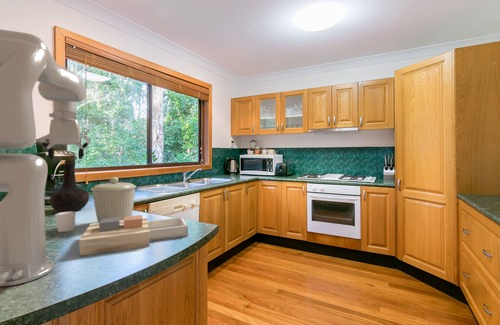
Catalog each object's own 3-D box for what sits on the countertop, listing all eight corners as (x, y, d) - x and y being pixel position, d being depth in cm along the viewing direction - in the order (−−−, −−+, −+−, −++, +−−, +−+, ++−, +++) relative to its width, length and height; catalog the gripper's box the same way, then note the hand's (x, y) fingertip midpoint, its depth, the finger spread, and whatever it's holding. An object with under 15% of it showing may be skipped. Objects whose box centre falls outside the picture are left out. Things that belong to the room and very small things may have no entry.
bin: (187, 236, 96) (187, 225, 96) (149, 241, 91) (149, 230, 90) (181, 226, 109) (181, 217, 109) (148, 230, 103) (148, 220, 103)
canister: (96, 220, 120) (95, 176, 119) (138, 216, 126) (137, 174, 125) (87, 231, 103) (85, 179, 102) (135, 226, 109) (134, 178, 108)
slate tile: (119, 229, 88) (119, 221, 88) (99, 231, 86) (99, 223, 86) (120, 225, 94) (120, 217, 94) (101, 227, 91) (101, 218, 91)
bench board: (149, 246, 86) (149, 231, 86) (79, 256, 78) (79, 240, 78) (147, 229, 104) (147, 217, 104) (90, 236, 96) (90, 223, 96)
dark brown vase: (51, 216, 128) (49, 161, 127) (48, 210, 141) (46, 160, 140) (92, 210, 140) (90, 160, 139) (86, 205, 153) (84, 159, 152)
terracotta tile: (142, 226, 91) (142, 218, 91) (124, 229, 89) (123, 220, 89) (142, 222, 97) (142, 215, 97) (124, 224, 94) (124, 216, 94)
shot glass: (65, 232, 101) (64, 215, 101) (51, 231, 103) (50, 214, 102) (80, 227, 108) (79, 211, 108) (66, 226, 109) (66, 210, 109)
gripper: (35, 114, 96) (36, 159, 97) (88, 117, 103) (89, 158, 104) (41, 117, 103) (43, 159, 103) (91, 119, 110) (92, 158, 111)
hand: (66, 158), depth 104 cm, fingers open, 9 cm apart
